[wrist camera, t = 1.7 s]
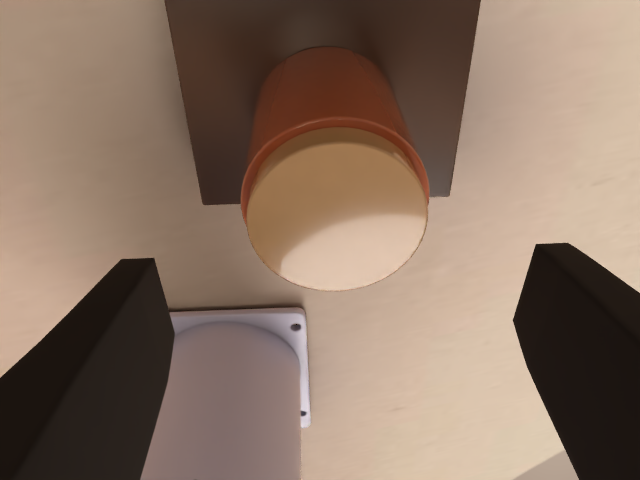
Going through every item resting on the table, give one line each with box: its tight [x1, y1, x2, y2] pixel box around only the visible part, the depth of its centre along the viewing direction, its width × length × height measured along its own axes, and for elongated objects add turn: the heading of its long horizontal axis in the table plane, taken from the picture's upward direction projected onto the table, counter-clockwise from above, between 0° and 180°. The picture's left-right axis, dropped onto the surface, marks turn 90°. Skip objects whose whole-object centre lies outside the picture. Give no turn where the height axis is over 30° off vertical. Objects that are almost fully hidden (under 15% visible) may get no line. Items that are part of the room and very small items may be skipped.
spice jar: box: [241, 47, 429, 291], centre depth 14 cm, size 5×5×6 cm
